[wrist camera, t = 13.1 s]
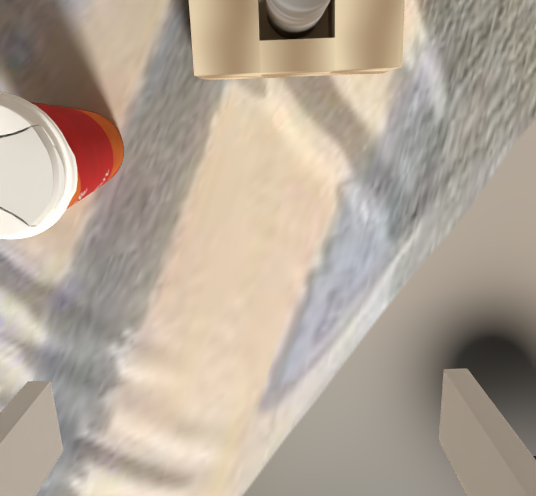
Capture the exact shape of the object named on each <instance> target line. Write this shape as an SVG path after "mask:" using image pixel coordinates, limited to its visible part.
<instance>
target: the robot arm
mask: <svg viewBox="0 0 536 496" xmlns="http://www.w3.org/2000/svg"><path fill="white" fill-rule="evenodd" d="M442 390H443V391H442V404H441V417H440V431H439V441H440V443H441V445H442V447H443V449H444V451H445V453H446V455H447V457H448V459H449V461H450V463H451V465H452V467H453V469H454V471H455V473H456V475H457V477H458V479H459V481H460V483H461V485H462V487H463V489H464V491H465V493H466V495H467V496H536V456H532V454H531V453H530V452H529V450H528V449H527V448H526V446H525V445H524V444H523V442H522V441H521V440H520V438H519V437H518V436H517V435H516V433H515V432H514V430H513V429H512V428H511V426H510V425H509V424H508V422H507V421H506V420H505V418H504V417H503V416H502V414H501V413H500V412H499V411H498V409H497V408H496V406H495V405H494V404H493V402H492V401H491V400H490V398H489V397H488V396H487V395H486V393H485V392H484V390H483V389H482V388H481V387H480V385H479V384H478V382H477V381H476V380H475V379H474V377H473V376H472V375H471V373H470V372H469V371H468V369H444V376H443V389H442ZM62 452H63V447H62V441H61V436H60V430H59V425H58V419H57V414H56V408H55V402H54V397H53V391H52V386H51V381H32V382H27V383H26V384H25V386H24V387H23V388H22V389H21V390H20V391H19V392H18V393H17V395H16V396H15V397H14V398H13V399H12V400H11V401H10V402H9V404H8V405H7V406H6V407H5V408H4V409H3V410H2V412H1V413H0V496H36V494H37V493H38V491H39V490H40V488H41V486H42V485H43V483H44V481H45V480H46V478H47V476H48V475H49V473H50V471H51V470H52V468H53V466H54V465H55V463H56V461H57V460H58V458H59V457H60V455H61V453H62Z"/></svg>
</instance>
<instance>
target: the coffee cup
mask: <svg viewBox="0 0 536 496" xmlns="http://www.w3.org/2000/svg"><path fill="white" fill-rule="evenodd" d="M123 157H124V146H123V141H122V138H121V136H120V134H119V132H118V130H117V129H116V127H115V126H114V125H113V124H112V123H111V122H110V121H109V120H107V119H106V118H105V117H103V116H101V115H99V114H97V113H94V112H90V111H85V110H80V109H74V108H68V107H61V106H54V105H47V104H40V103H33V102H29V101H27V100H26V99H23V98H21V97H18V96H16V95H13V94H9V93H5V92H0V239H23V238H27V237H31V236H34V235H36V234H39V233H41V232H43V231H45V230H46V229H48V228H49V227H51V226H52V225H53V224H54V223H55V222H57V221H58V220H59V219H60V217H61V216H62V215H63V213H64V212H65V211H66V209H67V208H69V207H70V206H72V205H73V204H75V203H76V202H78V201H79V200H81V199H83V198H84V197H85V196H87V195H88V194H90V193H91V192H93V191H94V190H96V189H97V188H99V187H100V186H101V185H103V184H104V183H106V182H107V181H108V180H110V179H111V178H112V177H113V176H114V175H115V174H116V173H117V171H118V170H119V168H120V166H121V164H122V161H123Z"/></svg>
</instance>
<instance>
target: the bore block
mask: <svg viewBox="0 0 536 496" xmlns="http://www.w3.org/2000/svg"><path fill="white" fill-rule="evenodd" d="M189 11H190V24H191V38H192V51H193V65H194V75H195V76H197V77H200V78H202V79H204V80H219V79H245V78H271V77H297V76H322V75H348V74H374V73H385V72H388V71H391V70H394V69H397V68H401V67H402V53H403V26H404V0H189Z"/></svg>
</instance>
